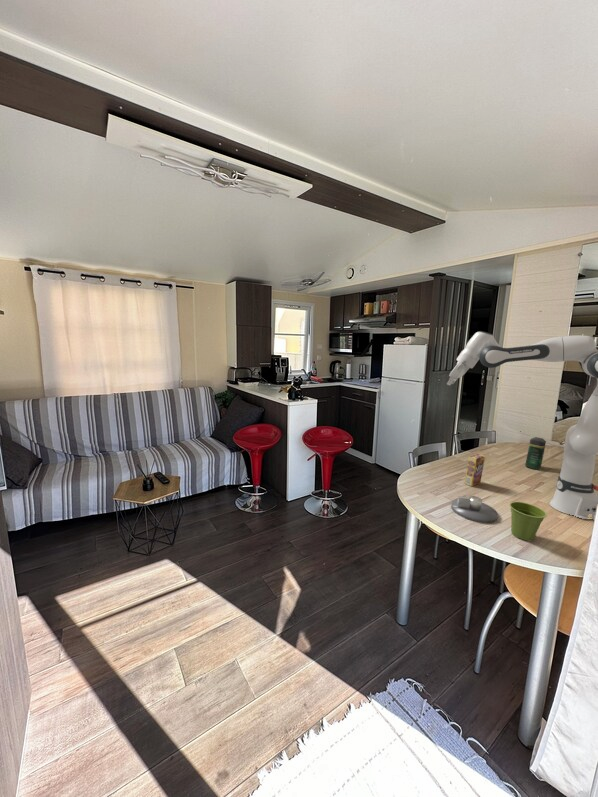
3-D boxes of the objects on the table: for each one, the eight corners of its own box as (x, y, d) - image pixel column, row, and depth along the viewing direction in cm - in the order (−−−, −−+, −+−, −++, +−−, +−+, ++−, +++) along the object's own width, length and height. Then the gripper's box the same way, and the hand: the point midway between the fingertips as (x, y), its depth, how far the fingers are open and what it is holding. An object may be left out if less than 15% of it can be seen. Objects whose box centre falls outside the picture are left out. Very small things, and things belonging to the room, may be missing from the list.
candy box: (472, 486, 170) (476, 458, 167) (464, 483, 174) (468, 456, 171) (481, 483, 175) (485, 456, 172) (473, 480, 179) (477, 453, 176)
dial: (478, 505, 146) (479, 496, 146) (482, 511, 141) (484, 502, 141) (455, 503, 148) (456, 494, 147) (459, 508, 143) (460, 499, 142)
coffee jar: (539, 471, 197) (545, 441, 194) (523, 467, 202) (529, 438, 199) (541, 467, 204) (547, 438, 201) (526, 463, 210) (531, 435, 206)
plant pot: (534, 549, 120) (539, 520, 118) (499, 532, 129) (504, 506, 127) (546, 538, 127) (551, 511, 125) (512, 524, 136) (517, 498, 134)
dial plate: (486, 504, 152) (487, 500, 152) (505, 525, 135) (505, 521, 134) (446, 499, 154) (446, 496, 154) (458, 520, 137) (459, 516, 137)
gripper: (469, 365, 156) (451, 389, 162) (474, 363, 173) (458, 385, 179) (456, 358, 159) (440, 382, 164) (463, 357, 176) (448, 379, 181)
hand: (449, 384), depth 172 cm, fingers open, 8 cm apart
